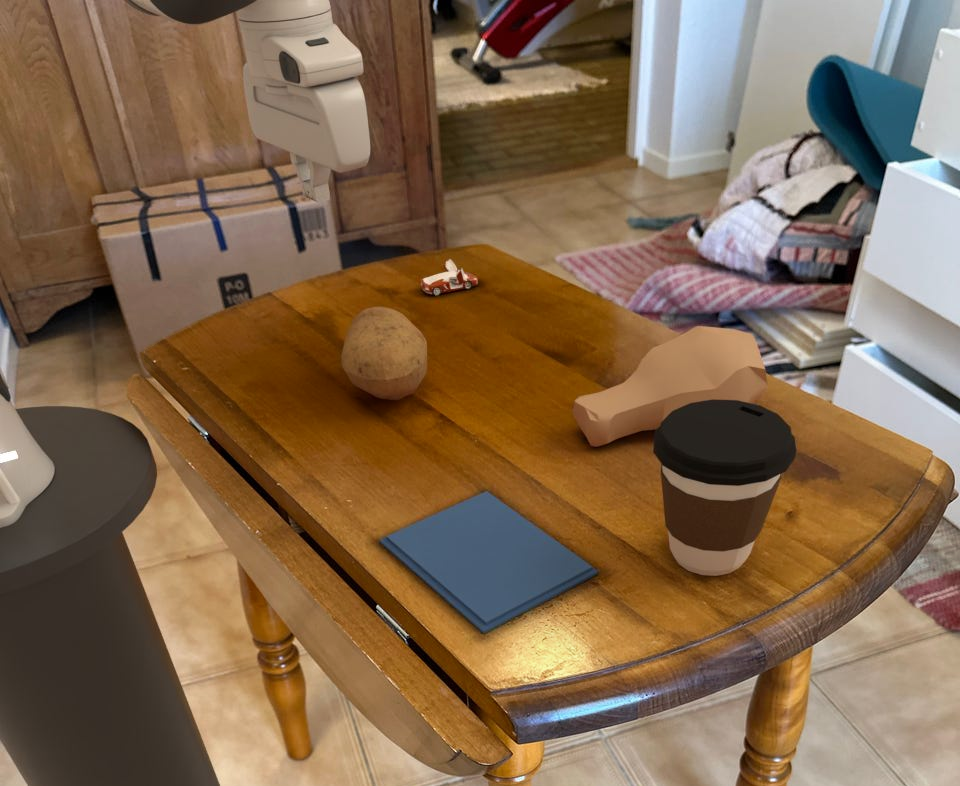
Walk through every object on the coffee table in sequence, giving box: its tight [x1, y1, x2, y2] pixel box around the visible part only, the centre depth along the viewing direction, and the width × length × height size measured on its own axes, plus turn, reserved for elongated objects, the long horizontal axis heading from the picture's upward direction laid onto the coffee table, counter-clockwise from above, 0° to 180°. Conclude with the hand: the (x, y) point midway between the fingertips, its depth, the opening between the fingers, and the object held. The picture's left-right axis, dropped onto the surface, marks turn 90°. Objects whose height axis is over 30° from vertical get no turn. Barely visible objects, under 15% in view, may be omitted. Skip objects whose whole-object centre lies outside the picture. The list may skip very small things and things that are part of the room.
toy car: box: [419, 258, 479, 297], centre depth 125 cm, size 5×8×3 cm, turn 109°
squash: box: [572, 325, 768, 448], centre depth 93 cm, size 11×20×9 cm, turn 109°
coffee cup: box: [652, 399, 797, 577], centre depth 75 cm, size 11×11×12 cm
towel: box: [378, 490, 599, 635], centre depth 81 cm, size 12×16×1 cm
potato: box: [340, 306, 428, 401], centre depth 102 cm, size 10×14×8 cm
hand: (317, 199), depth 99 cm, fingers closed
